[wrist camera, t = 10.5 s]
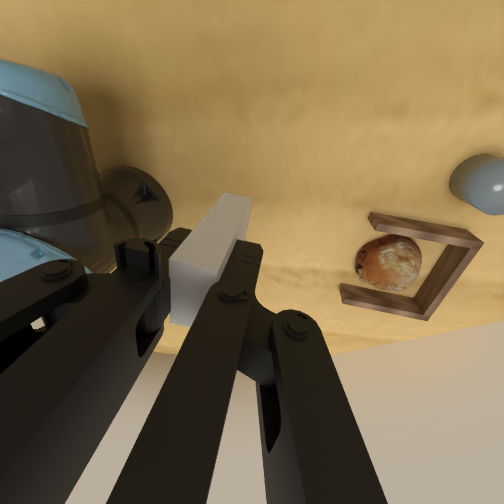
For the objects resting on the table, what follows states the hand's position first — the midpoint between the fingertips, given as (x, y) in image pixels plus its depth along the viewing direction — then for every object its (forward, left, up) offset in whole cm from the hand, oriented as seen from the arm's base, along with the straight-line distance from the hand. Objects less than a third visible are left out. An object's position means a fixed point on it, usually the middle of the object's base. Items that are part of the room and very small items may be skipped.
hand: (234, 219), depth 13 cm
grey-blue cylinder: (+29, 0, -29) cm, 41 cm away
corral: (+24, -16, -29) cm, 41 cm away
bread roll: (+23, -16, -29) cm, 40 cm away
